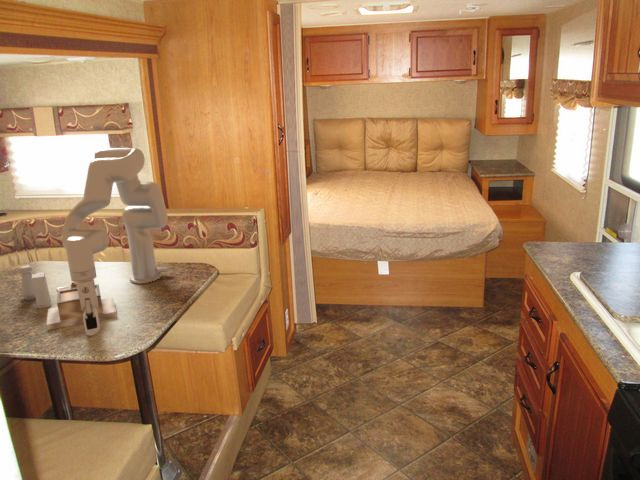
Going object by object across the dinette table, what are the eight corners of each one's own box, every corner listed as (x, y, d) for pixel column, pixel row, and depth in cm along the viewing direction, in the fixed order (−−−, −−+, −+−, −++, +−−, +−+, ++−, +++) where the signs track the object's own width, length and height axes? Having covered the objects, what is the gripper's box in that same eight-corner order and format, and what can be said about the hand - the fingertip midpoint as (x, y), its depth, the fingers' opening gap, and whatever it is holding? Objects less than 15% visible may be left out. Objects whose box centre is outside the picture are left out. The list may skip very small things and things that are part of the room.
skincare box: (50, 306, 193) (45, 276, 189) (37, 309, 191) (31, 278, 187) (51, 300, 198) (45, 271, 194) (37, 303, 196) (31, 273, 192)
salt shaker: (32, 301, 198) (25, 269, 194) (19, 300, 199) (12, 268, 195) (42, 295, 203) (36, 264, 199) (30, 294, 204) (23, 263, 200)
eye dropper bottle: (81, 333, 171) (75, 300, 168) (97, 327, 175) (91, 294, 172) (89, 337, 169) (83, 303, 165) (104, 330, 173) (99, 297, 169)
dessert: (56, 290, 209) (54, 280, 207) (87, 283, 216) (85, 272, 215) (65, 299, 200) (63, 288, 198) (96, 291, 207) (95, 280, 206)
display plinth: (113, 302, 195) (110, 281, 193) (116, 316, 183) (113, 294, 180) (49, 313, 186) (44, 292, 184) (47, 330, 174) (43, 306, 172)
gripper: (97, 280, 160) (105, 333, 165) (94, 263, 175) (102, 312, 180) (70, 284, 157) (80, 338, 162) (70, 267, 172) (79, 316, 177)
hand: (91, 324), depth 171 cm, fingers closed on eye dropper bottle, 5 cm apart
